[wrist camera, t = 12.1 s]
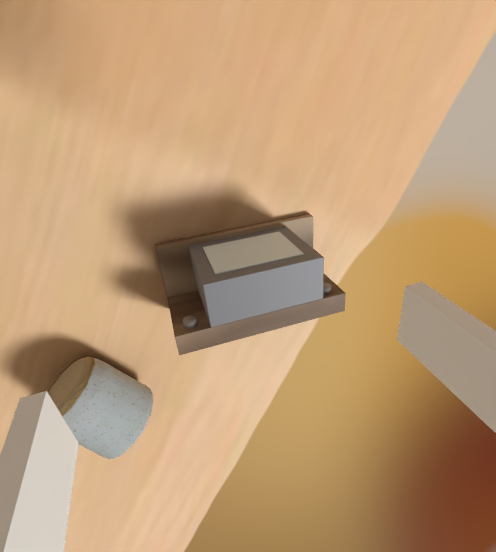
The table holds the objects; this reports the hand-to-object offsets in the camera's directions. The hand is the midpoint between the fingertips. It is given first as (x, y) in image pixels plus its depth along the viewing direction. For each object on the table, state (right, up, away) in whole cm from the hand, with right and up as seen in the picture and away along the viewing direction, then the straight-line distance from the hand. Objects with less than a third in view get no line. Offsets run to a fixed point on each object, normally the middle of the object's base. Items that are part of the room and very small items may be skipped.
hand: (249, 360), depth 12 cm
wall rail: (-1, +5, +23) cm, 24 cm away
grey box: (-1, +5, +22) cm, 23 cm away
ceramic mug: (-17, -9, +25) cm, 32 cm away
